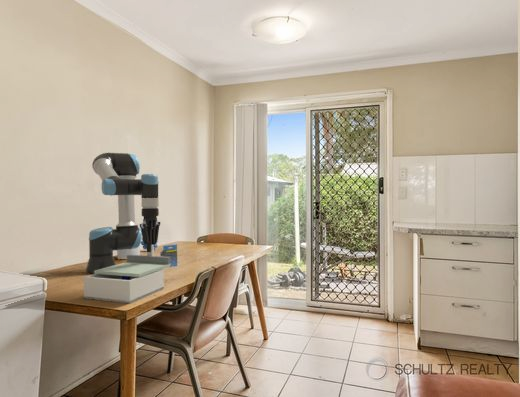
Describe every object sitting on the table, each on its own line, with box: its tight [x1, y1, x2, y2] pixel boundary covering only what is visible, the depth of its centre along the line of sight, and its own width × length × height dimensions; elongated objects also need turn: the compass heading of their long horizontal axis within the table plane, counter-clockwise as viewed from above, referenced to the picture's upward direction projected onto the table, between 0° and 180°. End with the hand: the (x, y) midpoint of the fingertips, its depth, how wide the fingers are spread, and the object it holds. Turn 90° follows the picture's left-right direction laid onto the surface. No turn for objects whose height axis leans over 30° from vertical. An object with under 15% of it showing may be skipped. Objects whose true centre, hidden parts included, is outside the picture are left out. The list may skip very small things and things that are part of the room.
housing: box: [83, 269, 165, 304], centre depth 148 cm, size 22×22×8 cm
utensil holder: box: [116, 244, 141, 260], centre depth 234 cm, size 15×15×18 cm
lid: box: [93, 254, 172, 277], centre depth 154 cm, size 22×22×4 cm
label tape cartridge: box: [159, 243, 178, 267], centre depth 205 cm, size 9×4×12 cm, turn 133°
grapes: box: [140, 238, 158, 251], centre depth 259 cm, size 12×7×12 cm, turn 106°
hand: (150, 258), depth 165 cm, fingers closed
